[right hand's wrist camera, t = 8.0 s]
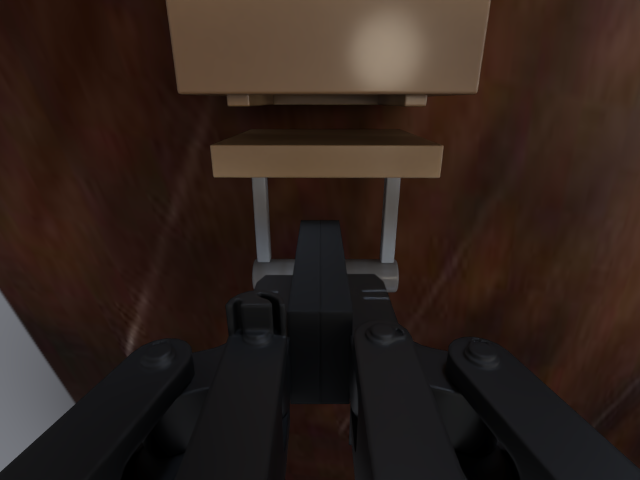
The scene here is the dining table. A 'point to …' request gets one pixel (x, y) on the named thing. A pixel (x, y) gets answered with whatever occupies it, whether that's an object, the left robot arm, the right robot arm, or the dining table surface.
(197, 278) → the dining table surface
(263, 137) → the drawer
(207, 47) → the cabinet
